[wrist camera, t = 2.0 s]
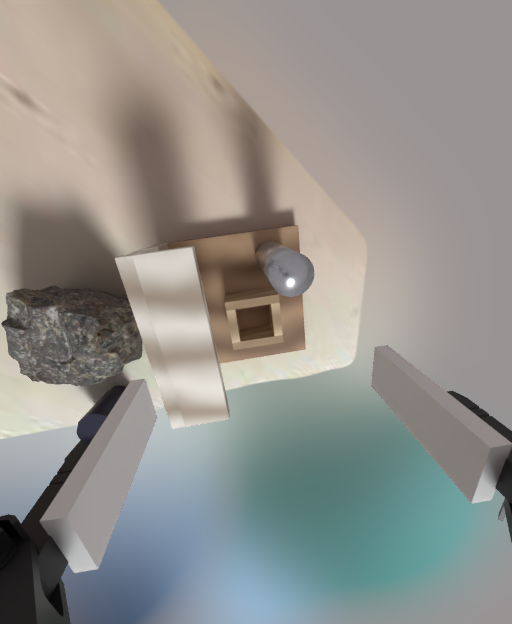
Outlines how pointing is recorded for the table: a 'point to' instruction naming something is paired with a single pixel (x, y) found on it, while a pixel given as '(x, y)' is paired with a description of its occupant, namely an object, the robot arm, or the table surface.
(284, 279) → the peg
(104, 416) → the speaker
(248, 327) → the socket board
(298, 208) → the table surface
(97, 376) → the rock
